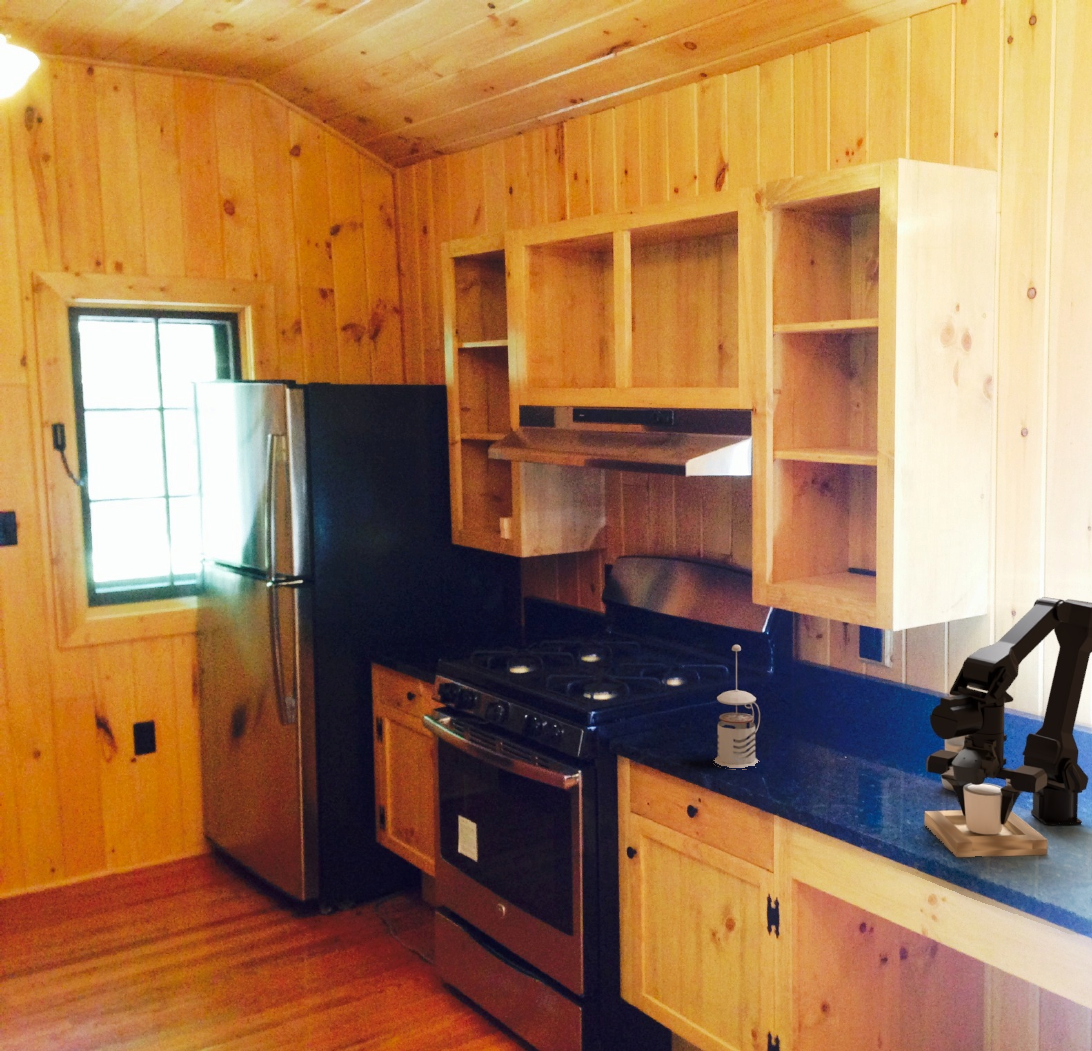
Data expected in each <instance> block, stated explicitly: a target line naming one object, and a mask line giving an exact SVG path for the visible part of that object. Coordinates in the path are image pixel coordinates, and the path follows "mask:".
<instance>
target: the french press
mask: <svg viewBox="0 0 1092 1051" xmlns="http://www.w3.org/2000/svg"><path fill="white" fill-rule="evenodd" d="M741 650H742V647H741V646H740V645H739V644H734V645H732V647H731V651H733V652H735V689H734V690H728V691H723V692H722V693H721V694H719V695H718V696H717V697H716V699H717V702H719V703H721V704H724V705H729V706H730V705H731V706H735V712H733V711H732V712H725V713H722V714H720V715H719V716H718V718H719V720H720V721H718V722H717V756H716V757H715V758H714V759H715V760H714V759H713V761H715V763H717V764H719V765H721V766H727V767H729V768H745V767H748V766H755V764H756V763H758V761H759V760H758V758H757V757H756V733H757V731H758V729H759V726H760V722H761V712H760V708H759V705H758V704H757V703H756V700H757V697H755V696H754V695H753V694H752V693H750V692H747V691H746V690H739V689H738V652H740V651H741ZM753 704H754V705H755V706H756V708H757V711H758V723H757V726H756V723H754V720H755V712H754V708H753ZM747 705H749V706H747ZM738 706H744V707H745V708H746V709H751V710H752V714H748V713H745V712H744V713H743V712H742V713H741V712H738ZM747 723H749V728H748V727H747ZM726 725H727V726H732V727H734V728H732V727H724V726H726ZM748 737H749V738H748ZM747 738H748V739H747Z"/></svg>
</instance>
